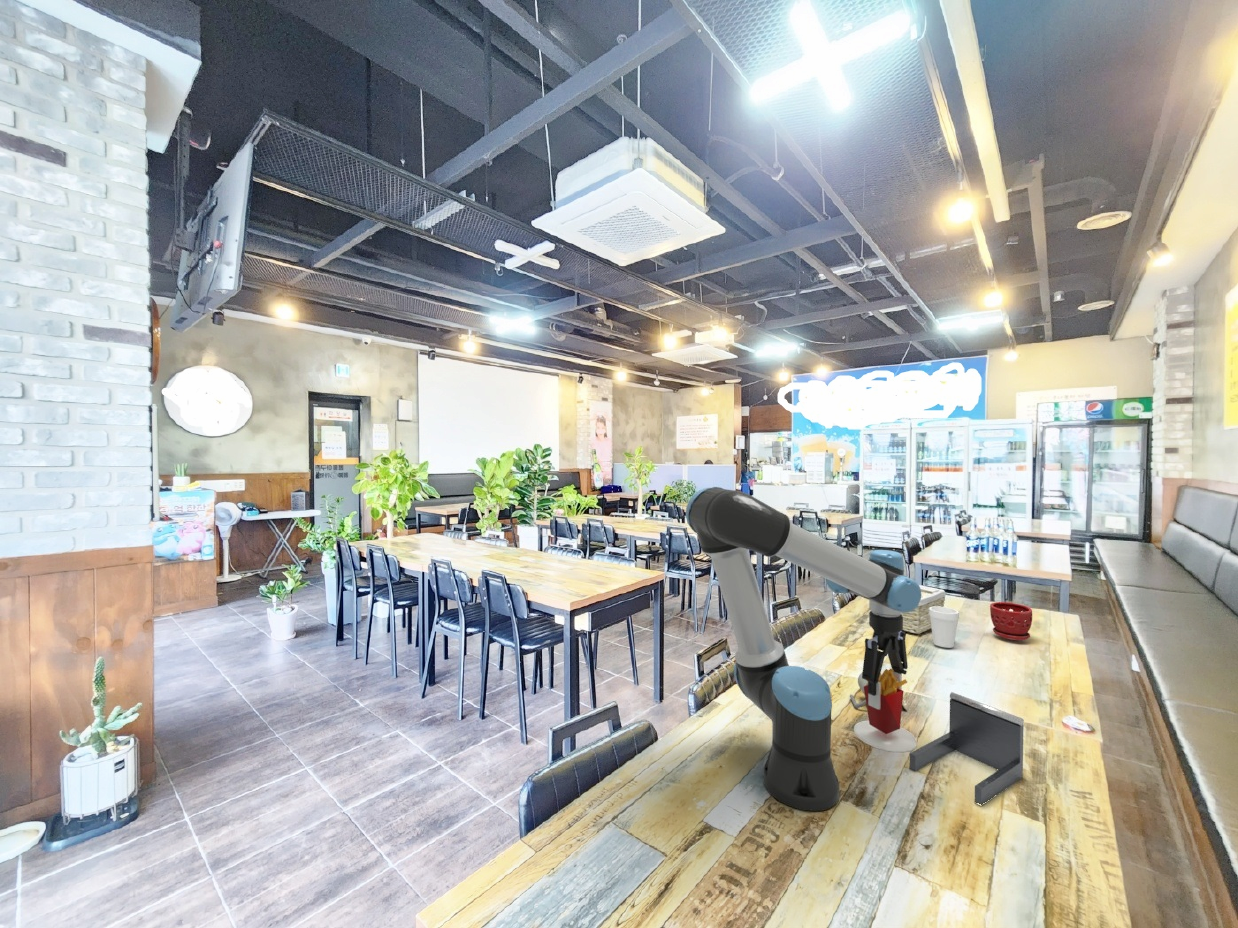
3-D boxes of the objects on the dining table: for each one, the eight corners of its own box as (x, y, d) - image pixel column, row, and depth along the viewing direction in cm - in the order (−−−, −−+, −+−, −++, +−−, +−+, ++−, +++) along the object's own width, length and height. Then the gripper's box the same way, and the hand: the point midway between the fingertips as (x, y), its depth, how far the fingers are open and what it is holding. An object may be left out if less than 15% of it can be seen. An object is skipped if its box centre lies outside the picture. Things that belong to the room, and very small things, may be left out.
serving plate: (895, 760, 119) (895, 757, 119) (842, 732, 131) (842, 729, 131) (928, 743, 126) (928, 739, 126) (875, 717, 138) (875, 715, 138)
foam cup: (958, 643, 193) (958, 608, 193) (958, 650, 185) (959, 615, 185) (929, 638, 198) (929, 604, 198) (928, 645, 190) (928, 611, 190)
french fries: (863, 723, 130) (861, 666, 130) (886, 715, 134) (884, 659, 133) (894, 741, 122) (892, 680, 122) (918, 731, 125) (916, 672, 125)
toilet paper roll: (910, 715, 139) (881, 678, 141) (877, 736, 141) (848, 699, 142) (897, 698, 149) (870, 663, 151) (866, 717, 151) (840, 683, 153)
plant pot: (989, 628, 209) (990, 599, 209) (1030, 635, 201) (1031, 605, 201) (989, 637, 199) (990, 607, 198) (1033, 645, 191) (1033, 613, 191)
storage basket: (918, 636, 200) (919, 599, 200) (878, 624, 214) (878, 589, 214) (946, 624, 214) (947, 589, 214) (907, 614, 227) (907, 581, 227)
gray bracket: (981, 808, 103) (982, 741, 103) (909, 770, 115) (910, 710, 115) (1022, 778, 112) (1023, 717, 112) (952, 746, 125) (953, 691, 124)
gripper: (874, 624, 119) (873, 720, 120) (924, 610, 130) (923, 698, 131) (846, 615, 126) (845, 706, 126) (895, 602, 137) (894, 686, 137)
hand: (885, 702), depth 128 cm, fingers closed on french fries, 8 cm apart
